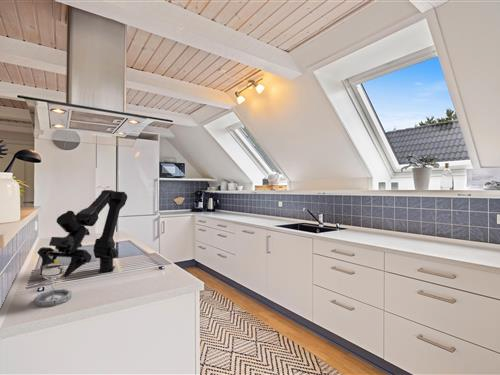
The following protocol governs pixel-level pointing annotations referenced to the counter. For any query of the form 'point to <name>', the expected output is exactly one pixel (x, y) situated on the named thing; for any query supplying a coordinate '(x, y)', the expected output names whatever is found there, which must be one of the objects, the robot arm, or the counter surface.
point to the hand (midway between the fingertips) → (52, 276)
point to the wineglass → (53, 276)
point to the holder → (42, 302)
